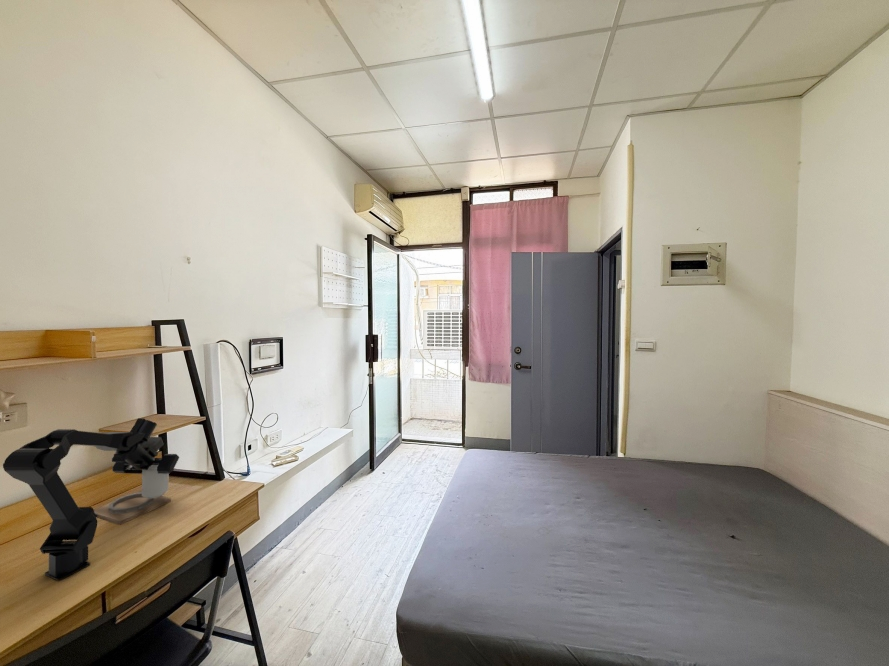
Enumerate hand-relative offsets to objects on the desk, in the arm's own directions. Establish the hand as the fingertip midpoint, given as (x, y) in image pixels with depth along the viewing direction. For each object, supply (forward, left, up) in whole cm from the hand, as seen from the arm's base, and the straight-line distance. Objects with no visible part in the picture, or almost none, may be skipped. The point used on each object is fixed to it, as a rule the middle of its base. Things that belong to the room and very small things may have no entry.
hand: (158, 472), depth 126 cm
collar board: (-5, +6, -12) cm, 14 cm away
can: (-1, -1, -8) cm, 8 cm away
